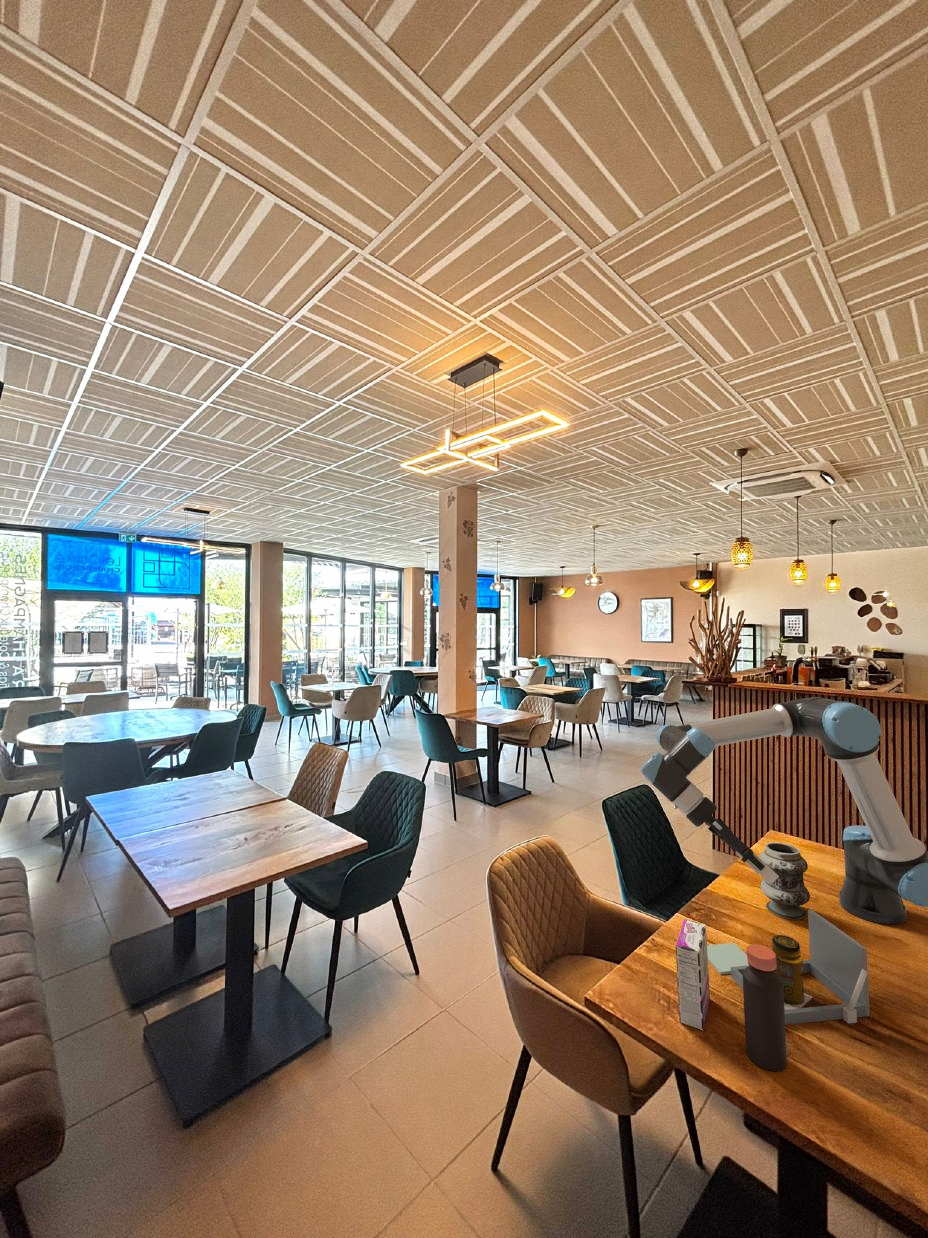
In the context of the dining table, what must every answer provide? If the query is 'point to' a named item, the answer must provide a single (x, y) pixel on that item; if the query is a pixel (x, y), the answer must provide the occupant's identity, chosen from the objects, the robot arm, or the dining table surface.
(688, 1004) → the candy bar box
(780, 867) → the apothecary jar
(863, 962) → the grey holder frame
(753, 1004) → the bottle
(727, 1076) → the dining table surface
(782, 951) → the condiment
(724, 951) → the pad
